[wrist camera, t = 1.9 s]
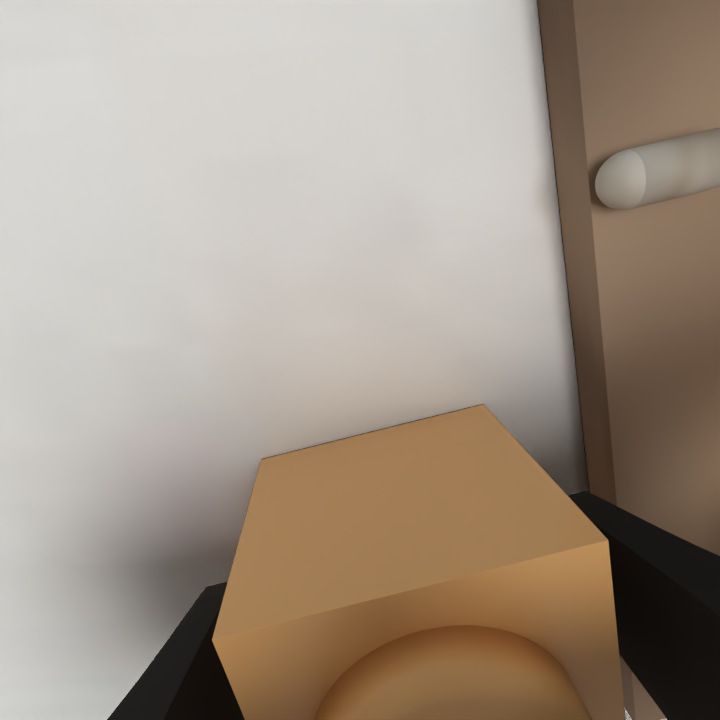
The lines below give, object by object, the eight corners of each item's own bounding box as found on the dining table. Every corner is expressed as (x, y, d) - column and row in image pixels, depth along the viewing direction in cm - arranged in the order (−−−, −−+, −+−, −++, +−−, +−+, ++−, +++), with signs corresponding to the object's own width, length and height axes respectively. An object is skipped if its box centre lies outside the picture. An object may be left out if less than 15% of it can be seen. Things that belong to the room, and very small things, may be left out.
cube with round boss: (514, 586, 12) (678, 893, 7) (319, 635, 12) (315, 986, 7) (483, 404, 11) (661, 598, 5) (260, 459, 11) (190, 716, 5)
